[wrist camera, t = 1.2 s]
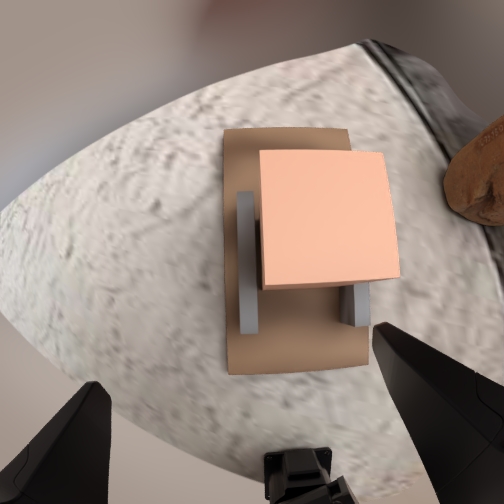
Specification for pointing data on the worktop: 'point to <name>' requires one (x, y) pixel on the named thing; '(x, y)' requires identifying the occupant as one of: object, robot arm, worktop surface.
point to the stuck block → (325, 219)
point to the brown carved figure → (479, 177)
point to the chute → (281, 301)
